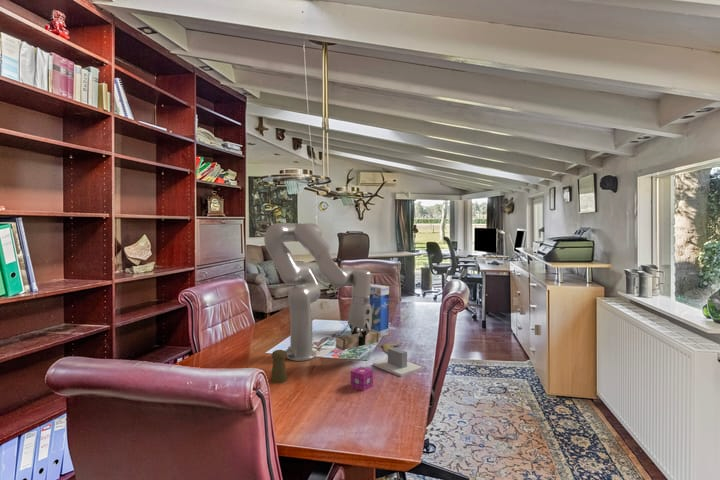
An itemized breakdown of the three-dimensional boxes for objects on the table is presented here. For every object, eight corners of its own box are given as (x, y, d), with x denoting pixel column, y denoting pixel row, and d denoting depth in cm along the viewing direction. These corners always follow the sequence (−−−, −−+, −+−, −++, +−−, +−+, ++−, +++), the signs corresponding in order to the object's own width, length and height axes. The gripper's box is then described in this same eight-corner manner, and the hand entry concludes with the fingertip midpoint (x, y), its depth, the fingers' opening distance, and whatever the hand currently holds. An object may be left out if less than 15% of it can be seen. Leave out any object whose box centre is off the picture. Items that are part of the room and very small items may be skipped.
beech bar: (341, 350, 152) (342, 340, 152) (335, 347, 155) (336, 337, 155) (379, 342, 165) (379, 332, 165) (372, 339, 168) (373, 330, 168)
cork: (279, 384, 139) (279, 354, 139) (267, 381, 143) (267, 351, 142) (290, 379, 145) (290, 349, 144) (278, 375, 148) (278, 347, 147)
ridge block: (401, 376, 147) (401, 358, 146) (373, 365, 159) (373, 348, 159) (422, 369, 154) (422, 352, 154) (393, 358, 167) (393, 342, 166)
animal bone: (381, 343, 186) (401, 340, 186) (381, 347, 186) (402, 344, 186) (384, 360, 165) (407, 356, 165) (385, 365, 165) (408, 361, 165)
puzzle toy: (360, 382, 142) (360, 366, 142) (373, 386, 138) (373, 370, 138) (350, 387, 138) (350, 371, 137) (363, 391, 134) (363, 375, 134)
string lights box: (361, 332, 207) (361, 284, 206) (370, 329, 213) (370, 283, 212) (380, 337, 198) (380, 287, 197) (389, 334, 204) (389, 285, 203)
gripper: (381, 303, 155) (378, 348, 156) (354, 295, 168) (352, 336, 169) (367, 305, 150) (364, 351, 151) (341, 296, 163) (338, 339, 164)
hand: (358, 343), depth 160 cm, fingers closed on beech bar, 4 cm apart
